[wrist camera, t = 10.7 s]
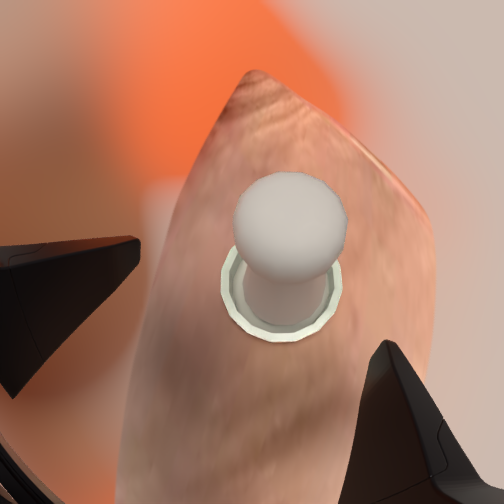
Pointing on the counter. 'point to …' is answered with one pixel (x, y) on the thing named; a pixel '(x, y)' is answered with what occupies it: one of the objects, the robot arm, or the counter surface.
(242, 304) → the pale green shallow dish
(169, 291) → the counter surface
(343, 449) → the counter surface
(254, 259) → the salt shaker
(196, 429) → the counter surface
